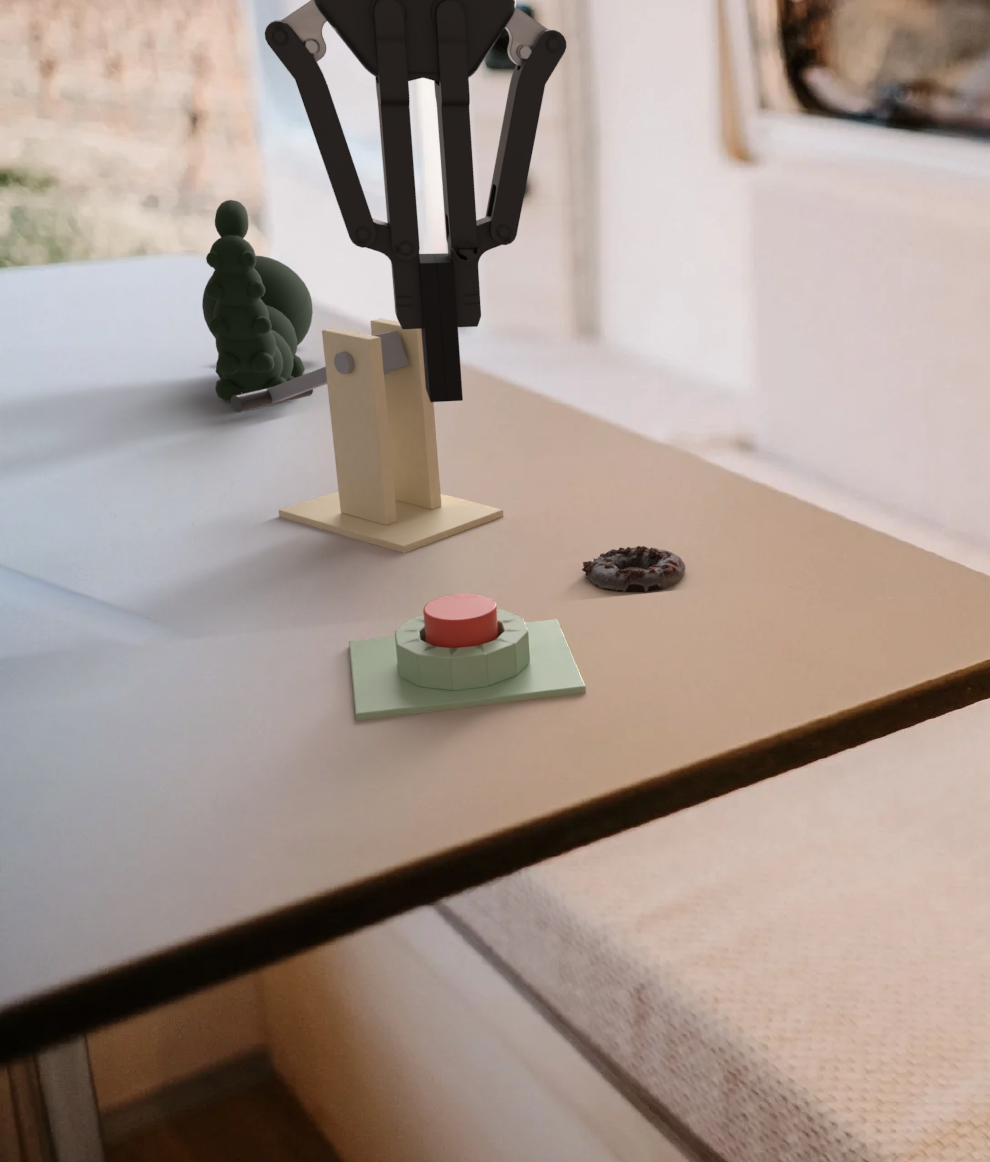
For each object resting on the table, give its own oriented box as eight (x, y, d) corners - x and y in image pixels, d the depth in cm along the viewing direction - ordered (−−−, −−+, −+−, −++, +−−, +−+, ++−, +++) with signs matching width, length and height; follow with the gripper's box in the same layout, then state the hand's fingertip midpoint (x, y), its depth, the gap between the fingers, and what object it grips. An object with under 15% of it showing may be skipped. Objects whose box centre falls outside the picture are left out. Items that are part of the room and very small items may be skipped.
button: (428, 655, 73) (426, 623, 72) (423, 628, 76) (420, 597, 75) (502, 647, 74) (500, 615, 73) (493, 620, 77) (491, 590, 77)
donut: (623, 555, 97) (623, 526, 96) (725, 577, 94) (725, 547, 93) (547, 597, 90) (545, 566, 89) (654, 622, 87) (653, 590, 86)
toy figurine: (313, 437, 125) (321, 347, 147) (288, 216, 117) (300, 154, 138) (194, 442, 123) (220, 350, 144) (159, 216, 114) (192, 154, 135)
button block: (359, 754, 71) (351, 679, 69) (352, 677, 78) (345, 609, 77) (587, 725, 74) (584, 653, 73) (559, 654, 82) (555, 588, 81)
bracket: (280, 527, 100) (255, 327, 95) (383, 494, 107) (365, 306, 102) (404, 564, 94) (386, 353, 89) (504, 527, 101) (492, 329, 96)
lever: (237, 422, 101) (224, 389, 101) (308, 405, 106) (296, 373, 105) (361, 376, 93) (347, 340, 93) (431, 360, 98) (419, 325, 97)
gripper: (547, -133, 67) (567, 370, 76) (241, -154, 63) (299, 382, 71) (574, -146, 61) (593, 406, 69) (235, -171, 56) (300, 422, 65)
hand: (444, 394), depth 70 cm, fingers closed
